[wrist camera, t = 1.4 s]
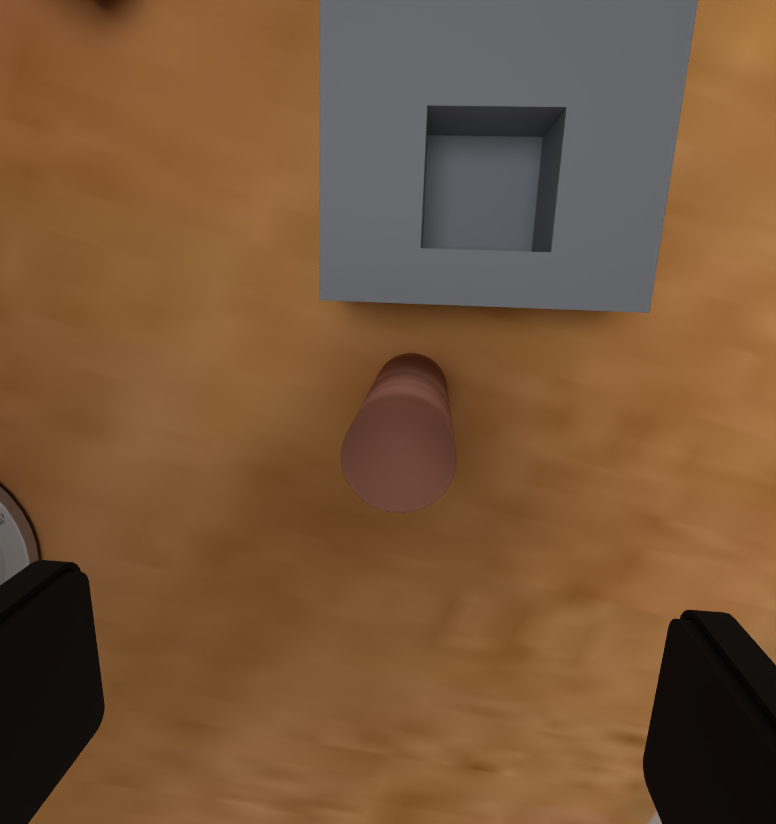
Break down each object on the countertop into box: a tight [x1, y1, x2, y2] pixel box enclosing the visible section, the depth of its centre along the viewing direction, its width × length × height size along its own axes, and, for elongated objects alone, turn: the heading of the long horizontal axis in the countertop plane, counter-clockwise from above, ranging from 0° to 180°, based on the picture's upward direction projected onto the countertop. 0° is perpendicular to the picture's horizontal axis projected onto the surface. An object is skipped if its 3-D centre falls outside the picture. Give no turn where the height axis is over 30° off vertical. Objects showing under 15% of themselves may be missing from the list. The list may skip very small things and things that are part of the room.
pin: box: [341, 353, 456, 513], centre depth 24 cm, size 4×4×12 cm
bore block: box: [320, 0, 698, 313], centre depth 23 cm, size 20×14×6 cm
